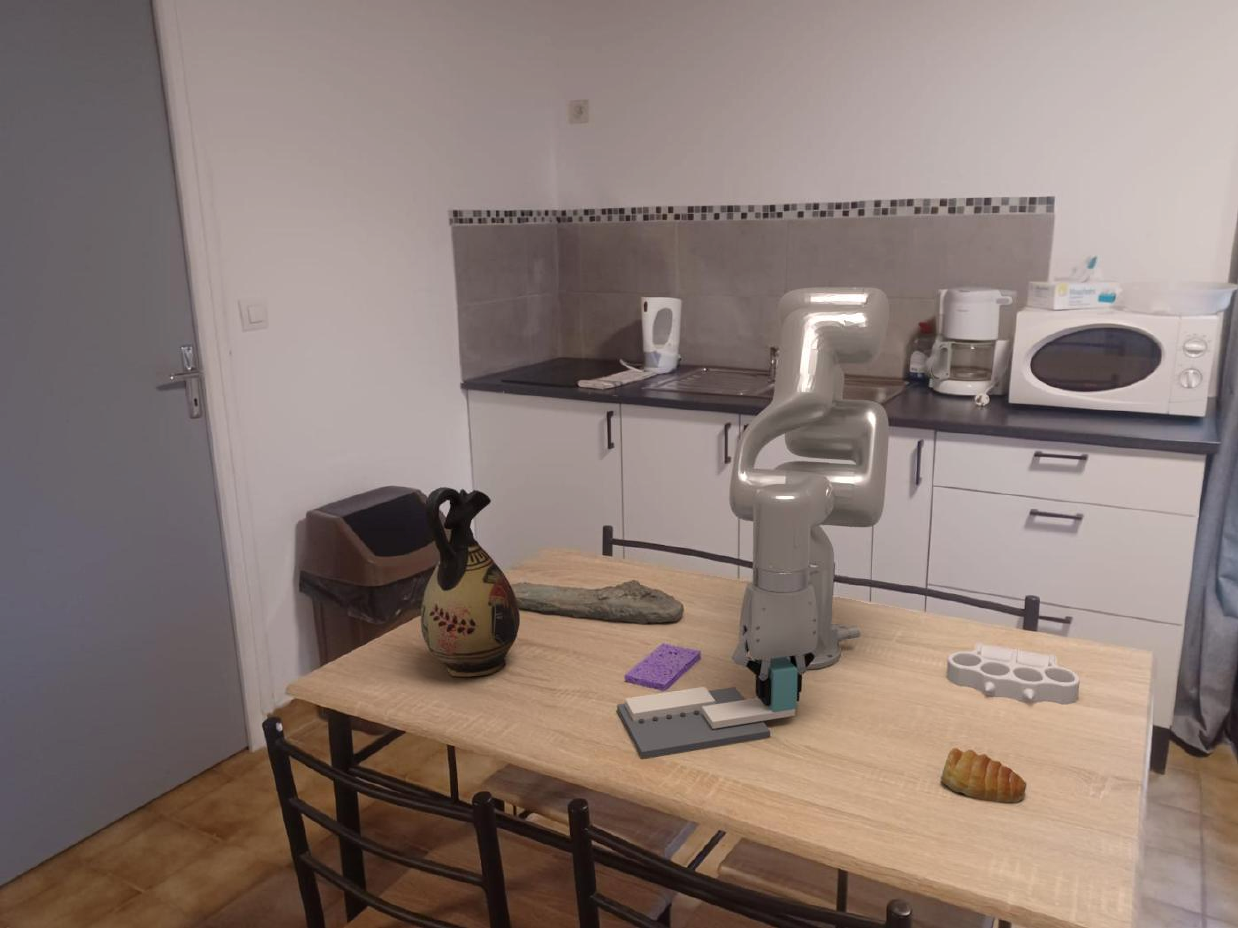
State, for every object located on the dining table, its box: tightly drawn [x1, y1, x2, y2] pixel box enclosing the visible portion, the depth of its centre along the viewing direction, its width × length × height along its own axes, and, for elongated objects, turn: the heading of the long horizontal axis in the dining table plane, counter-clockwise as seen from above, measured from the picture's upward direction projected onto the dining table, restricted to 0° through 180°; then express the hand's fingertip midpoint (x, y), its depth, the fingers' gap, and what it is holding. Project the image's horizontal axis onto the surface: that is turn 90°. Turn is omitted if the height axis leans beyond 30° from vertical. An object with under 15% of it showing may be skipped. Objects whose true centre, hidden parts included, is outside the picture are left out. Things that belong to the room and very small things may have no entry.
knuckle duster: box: [946, 642, 1081, 705], centre depth 139 cm, size 3×18×15 cm
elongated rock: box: [510, 579, 685, 625], centre depth 170 cm, size 35×5×10 cm
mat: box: [616, 686, 771, 760], centre depth 130 cm, size 18×13×1 cm
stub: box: [702, 657, 798, 729], centre depth 129 cm, size 12×4×7 cm, turn 104°
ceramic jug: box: [420, 486, 521, 678], centre depth 145 cm, size 17×15×30 cm
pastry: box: [940, 747, 1028, 804], centre depth 114 cm, size 9×7×4 cm
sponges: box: [624, 642, 702, 692], centre depth 146 cm, size 7×13×2 cm, turn 150°
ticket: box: [624, 686, 715, 724], centre depth 132 cm, size 12×5×1 cm, turn 104°
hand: (778, 698), depth 130 cm, fingers closed on stub, 3 cm apart
